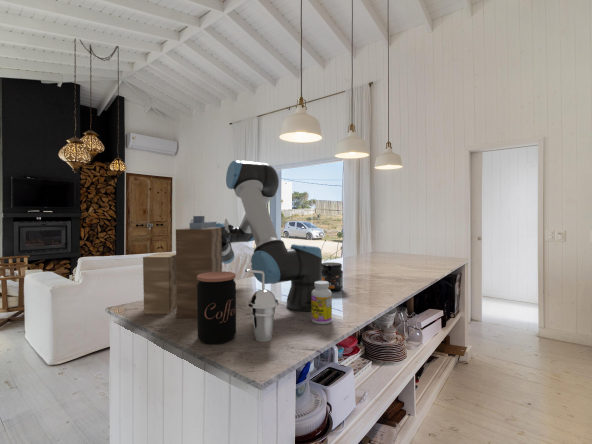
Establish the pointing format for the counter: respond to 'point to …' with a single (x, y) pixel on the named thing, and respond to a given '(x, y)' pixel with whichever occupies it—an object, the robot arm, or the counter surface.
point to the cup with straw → (263, 311)
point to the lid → (201, 223)
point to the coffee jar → (216, 307)
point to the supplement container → (333, 275)
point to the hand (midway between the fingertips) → (208, 222)
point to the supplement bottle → (321, 303)
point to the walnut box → (195, 264)
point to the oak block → (159, 283)
